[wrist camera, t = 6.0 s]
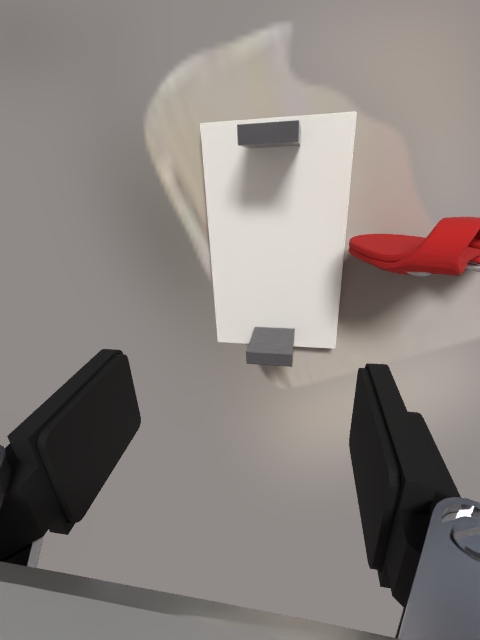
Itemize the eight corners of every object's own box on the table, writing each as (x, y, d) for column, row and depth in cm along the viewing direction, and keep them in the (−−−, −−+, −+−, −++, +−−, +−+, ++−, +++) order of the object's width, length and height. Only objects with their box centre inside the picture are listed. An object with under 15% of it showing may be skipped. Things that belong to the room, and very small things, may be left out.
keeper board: (354, 113, 25) (367, 99, 20) (334, 342, 34) (339, 377, 28) (204, 124, 27) (177, 115, 22) (220, 336, 36) (204, 367, 30)
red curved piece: (341, 252, 30) (353, 289, 21) (349, 200, 28) (367, 217, 19) (488, 263, 28) (572, 309, 19) (509, 208, 26) (611, 231, 17)
